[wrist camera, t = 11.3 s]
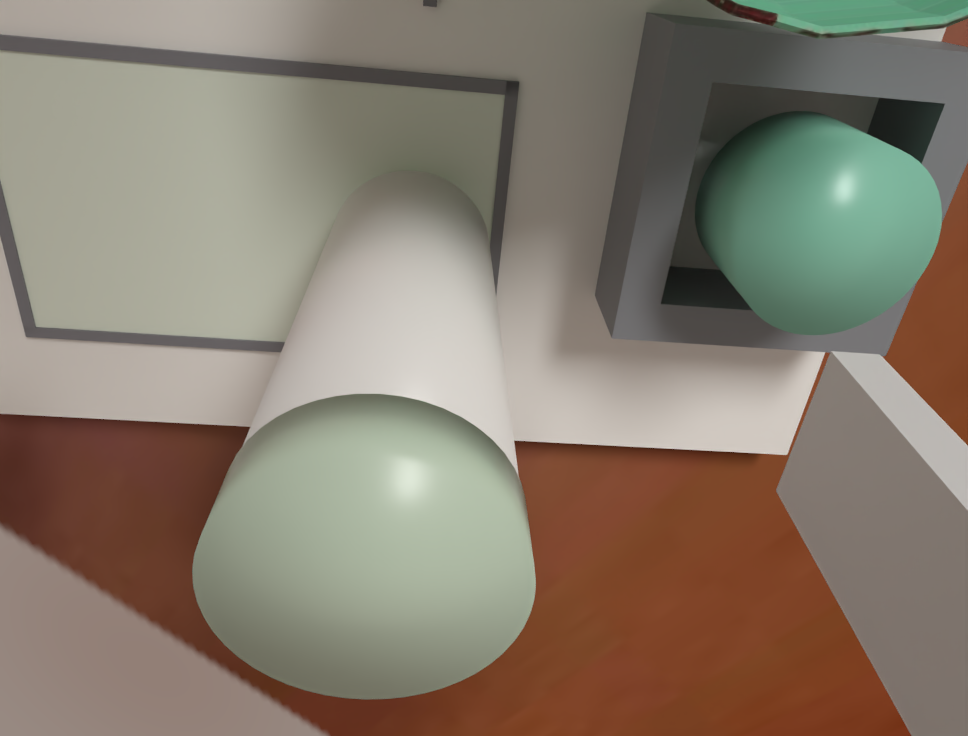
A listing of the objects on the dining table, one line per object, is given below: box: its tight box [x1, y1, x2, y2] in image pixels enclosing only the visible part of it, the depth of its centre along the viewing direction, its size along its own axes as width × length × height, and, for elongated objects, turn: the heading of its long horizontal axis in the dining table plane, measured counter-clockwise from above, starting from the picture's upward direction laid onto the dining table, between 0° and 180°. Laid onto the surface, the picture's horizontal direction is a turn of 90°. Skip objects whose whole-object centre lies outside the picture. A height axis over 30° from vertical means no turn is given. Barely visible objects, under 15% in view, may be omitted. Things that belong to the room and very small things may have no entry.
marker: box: [192, 171, 536, 699], centre depth 14 cm, size 4×4×12 cm
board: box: [0, 0, 968, 455], centre depth 17 cm, size 17×24×4 cm
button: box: [695, 111, 942, 335], centre depth 16 cm, size 4×4×3 cm
